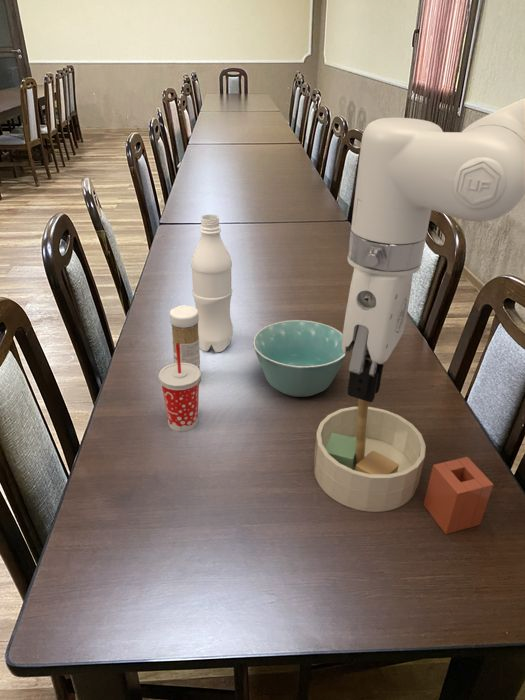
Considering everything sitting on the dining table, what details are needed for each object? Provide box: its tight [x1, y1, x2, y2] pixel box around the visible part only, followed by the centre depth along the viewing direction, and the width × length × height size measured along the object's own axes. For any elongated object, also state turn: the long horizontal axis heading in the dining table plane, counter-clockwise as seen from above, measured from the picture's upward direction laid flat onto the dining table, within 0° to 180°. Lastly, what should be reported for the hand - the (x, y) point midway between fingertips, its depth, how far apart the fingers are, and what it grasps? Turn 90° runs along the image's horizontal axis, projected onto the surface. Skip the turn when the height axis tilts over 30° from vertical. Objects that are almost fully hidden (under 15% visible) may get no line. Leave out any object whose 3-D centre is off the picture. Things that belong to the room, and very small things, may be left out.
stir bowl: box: [313, 406, 427, 513], centre depth 73 cm, size 14×14×6 cm
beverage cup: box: [158, 343, 202, 432], centre depth 79 cm, size 6×6×14 cm
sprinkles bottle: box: [169, 304, 202, 383], centre depth 89 cm, size 5×5×13 cm
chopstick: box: [355, 357, 371, 468], centre depth 67 cm, size 1×1×18 cm
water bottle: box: [190, 214, 234, 353], centre depth 96 cm, size 7×7×25 cm
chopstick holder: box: [423, 456, 494, 535], centre depth 66 cm, size 5×5×7 cm
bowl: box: [252, 319, 347, 398], centre depth 91 cm, size 16×16×8 cm
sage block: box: [325, 433, 356, 470], centre depth 73 cm, size 4×4×4 cm
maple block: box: [355, 450, 399, 475], centre depth 70 cm, size 4×4×4 cm
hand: (363, 392), depth 65 cm, fingers closed on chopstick, 1 cm apart
